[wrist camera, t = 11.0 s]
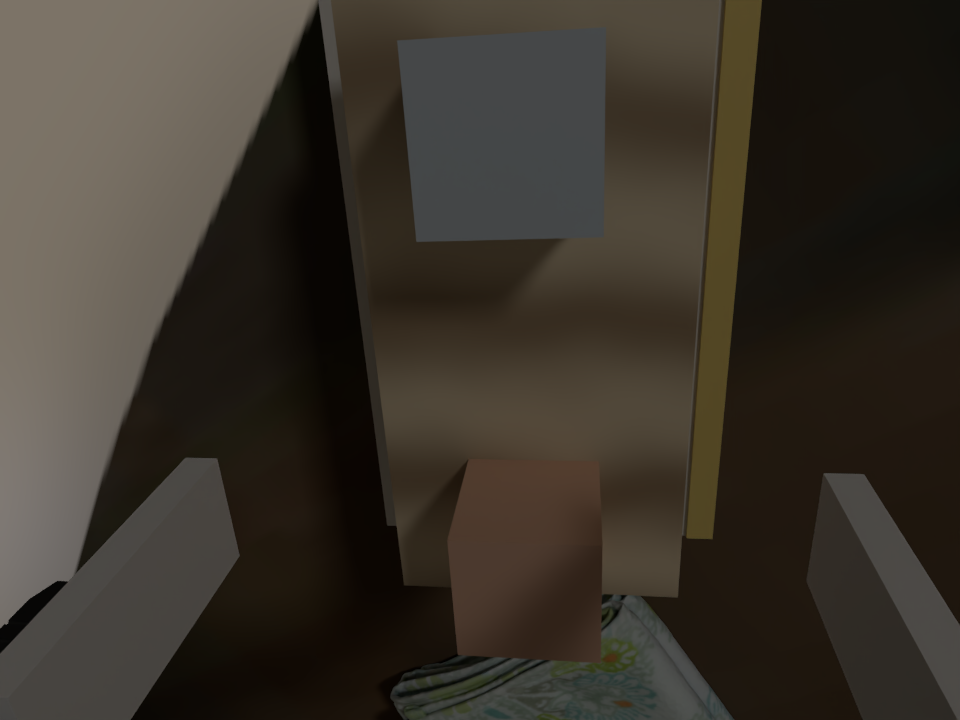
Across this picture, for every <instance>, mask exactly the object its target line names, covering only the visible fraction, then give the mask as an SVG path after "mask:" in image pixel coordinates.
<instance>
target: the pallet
mask: <svg viewBox="0 0 960 720" xmlns="http://www.w3.org/2000/svg"><path fill="white" fill-rule="evenodd" d="M331 6H332V14H333V22H334V30H335V38H336V46H337V54H338V62H339V70H340V78H341V86H342V93H343V101H344V109H345V117H346V125H347V133H348V141H349V149H350V157H351V165H352V173H353V181H354V189H355V197H356V205H357V213H358V221H359V229H360V237H361V245H362V253H363V261H364V269H365V277H366V285H367V293H368V301H369V309H370V317H371V325H372V333H373V341H374V349H375V357H376V365H377V373H378V381H379V389H380V397H381V405H382V413H383V421H384V429H385V437H386V445H387V453H388V461H389V468H390V476H391V484H392V492H393V500H394V508H395V516H396V524H397V532H398V540H399V548H400V556H401V564H402V572H403V580H404V585H409V586H431V587H452V586H451V576H450V565H449V554H448V543H447V540H448V536H449V532H450V528H451V524H452V521H453V517H454V513H455V509H456V505H457V502H458V498H459V494H460V490H461V486H462V483H463V479H464V475H465V471H466V467H467V463H468V460H469V459H497V460H550V461H599V473H600V497H601V521H602V545H603V549H602V594H612V595H635V596H658V597H678V585H679V571H680V557H681V542H682V528H683V514H684V500H685V485H686V471H687V457H688V442H689V428H690V414H691V400H692V385H693V371H694V357H695V342H696V328H697V314H698V300H699V285H700V271H701V257H702V242H703V228H704V214H705V200H706V185H707V171H708V157H709V143H710V128H711V114H712V100H713V85H714V71H715V57H716V43H717V28H718V14H719V0H331ZM600 27H606V78H605V167H604V237H595V238H554V239H514V240H473V241H432V242H416V232H415V221H414V211H413V200H412V190H411V179H410V169H409V159H408V148H407V138H406V127H405V117H404V106H403V96H402V86H401V75H400V65H399V54H398V44H397V40H413V39H428V38H444V37H460V36H475V35H491V34H506V33H522V32H538V31H553V30H569V29H584V28H600Z"/></svg>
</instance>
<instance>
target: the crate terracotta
mask: <svg viewBox="0 0 960 720" xmlns="http://www.w3.org/2000/svg"><path fill="white" fill-rule="evenodd" d="M447 543H448V554H449V565H450V576H451V586H452V597H453V608H454V619H455V630H456V640H457V651H458V655H465V656H483V657H501V658H518V659H536V660H554V661H572V662H589V663H601V618H602V549H603V545H602V521H601V497H600V473H599V461H550V460H497V459H469V460H468V463H467V467H466V471H465V475H464V479H463V483H462V486H461V490H460V494H459V498H458V502H457V505H456V509H455V513H454V517H453V521H452V524H451V528H450V532H449V536H448V540H447Z"/></svg>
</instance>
